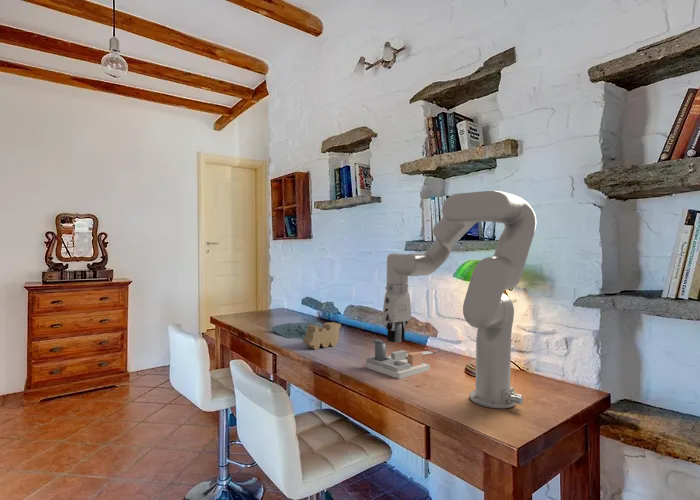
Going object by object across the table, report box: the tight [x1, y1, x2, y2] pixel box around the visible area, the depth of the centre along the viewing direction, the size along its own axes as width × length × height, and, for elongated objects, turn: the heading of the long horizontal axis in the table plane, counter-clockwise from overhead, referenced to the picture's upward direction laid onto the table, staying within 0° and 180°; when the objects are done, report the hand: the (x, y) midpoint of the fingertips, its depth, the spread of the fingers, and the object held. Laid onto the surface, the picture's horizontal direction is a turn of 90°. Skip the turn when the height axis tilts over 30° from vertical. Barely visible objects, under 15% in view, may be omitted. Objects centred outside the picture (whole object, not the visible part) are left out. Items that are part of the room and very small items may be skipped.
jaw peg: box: [390, 322, 403, 344], centre depth 141 cm, size 5×4×8 cm
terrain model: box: [269, 321, 323, 341], centre depth 207 cm, size 26×28×5 cm
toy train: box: [302, 321, 342, 351], centre depth 178 cm, size 6×17×10 cm, turn 130°
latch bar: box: [407, 350, 424, 366], centre depth 145 cm, size 2×6×4 cm, turn 130°
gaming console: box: [404, 347, 441, 357], centre depth 169 cm, size 22×1×10 cm
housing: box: [365, 339, 431, 380], centre depth 146 cm, size 17×16×10 cm
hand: (395, 340), depth 140 cm, fingers closed on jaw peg, 4 cm apart
